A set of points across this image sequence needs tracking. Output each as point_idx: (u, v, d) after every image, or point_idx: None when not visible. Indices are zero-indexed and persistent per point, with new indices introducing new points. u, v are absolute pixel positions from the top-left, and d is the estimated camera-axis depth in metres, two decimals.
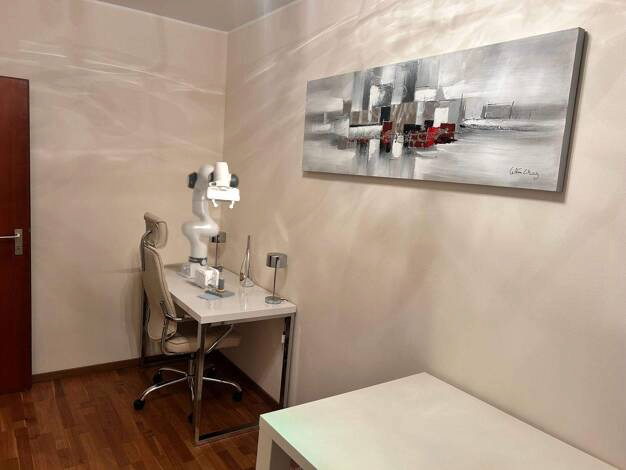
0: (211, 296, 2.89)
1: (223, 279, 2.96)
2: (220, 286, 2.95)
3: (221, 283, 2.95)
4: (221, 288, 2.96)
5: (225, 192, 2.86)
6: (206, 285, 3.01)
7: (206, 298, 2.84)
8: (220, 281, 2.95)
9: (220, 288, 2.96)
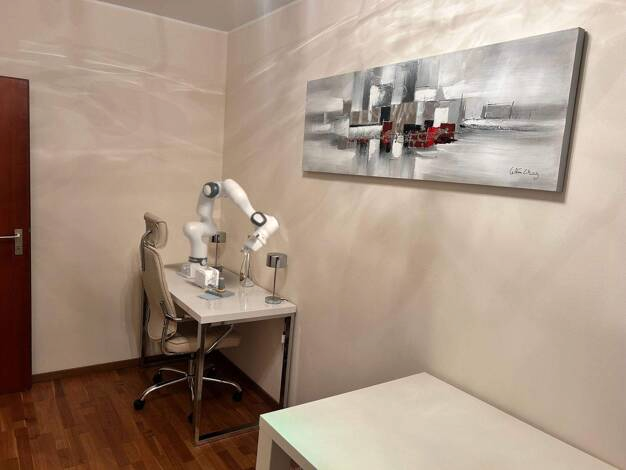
0: (211, 296, 2.89)
1: (223, 279, 2.96)
2: (220, 286, 2.95)
3: (221, 283, 2.95)
4: (221, 288, 2.96)
5: None
6: (206, 285, 3.01)
7: (206, 298, 2.84)
8: (220, 281, 2.95)
9: (220, 288, 2.96)
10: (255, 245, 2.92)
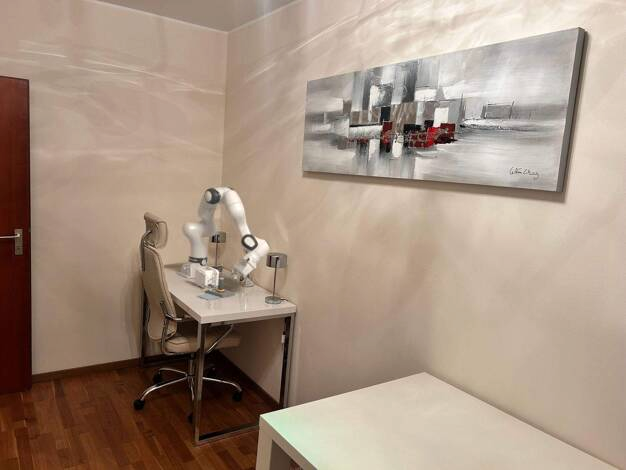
0: (211, 296, 2.89)
1: (223, 279, 2.96)
2: (220, 286, 2.95)
3: (221, 283, 2.95)
4: (221, 288, 2.96)
5: None
6: (206, 285, 3.01)
7: (206, 298, 2.84)
8: (220, 281, 2.95)
9: (220, 288, 2.96)
10: (245, 269, 2.92)
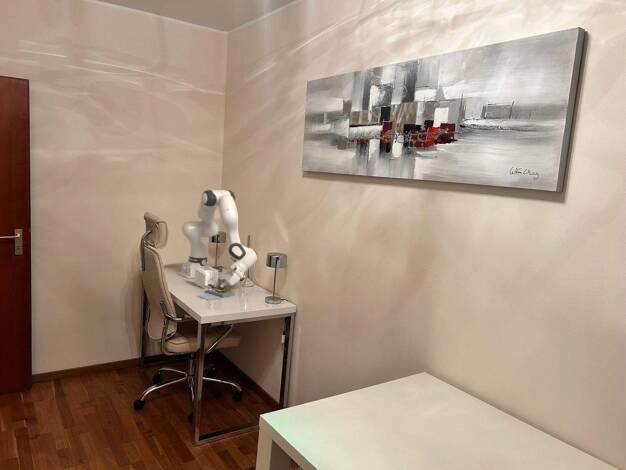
0: (211, 296, 2.89)
1: (223, 279, 2.96)
2: (220, 286, 2.95)
3: (221, 283, 2.95)
4: (221, 288, 2.96)
5: None
6: (206, 285, 3.01)
7: (206, 298, 2.84)
8: (220, 281, 2.95)
9: (220, 288, 2.96)
10: (232, 279, 2.89)
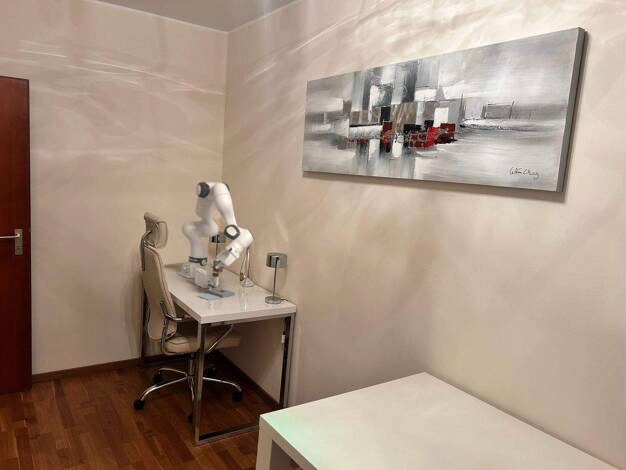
0: (211, 296, 2.89)
1: (218, 260, 2.89)
2: None
3: (216, 264, 2.88)
4: (216, 270, 2.89)
5: None
6: (206, 285, 3.01)
7: (206, 298, 2.84)
8: (215, 262, 2.88)
9: (215, 269, 2.89)
10: (228, 259, 2.82)
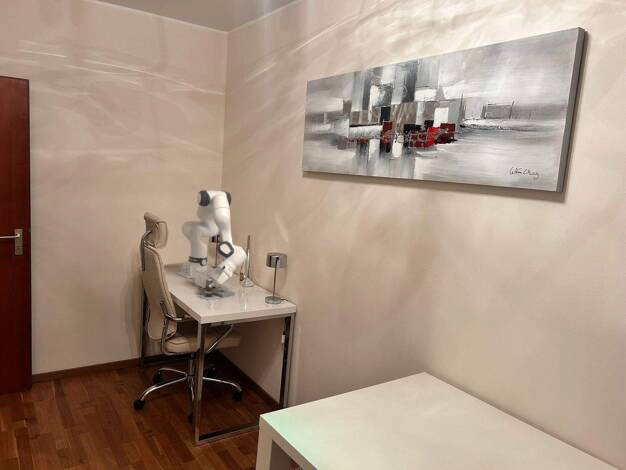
0: None
1: (211, 280, 2.87)
2: (208, 288, 2.87)
3: None
4: (209, 290, 2.87)
5: None
6: None
7: (206, 298, 2.84)
8: (208, 282, 2.86)
9: (208, 290, 2.87)
10: (220, 278, 2.80)
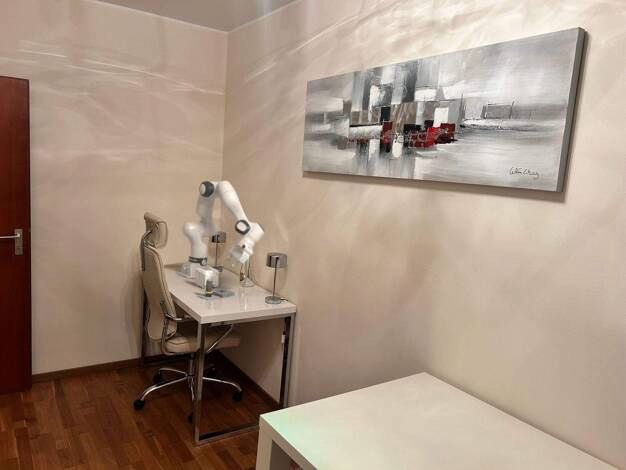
0: None
1: (211, 280, 2.87)
2: (208, 288, 2.86)
3: (209, 285, 2.86)
4: (209, 290, 2.87)
5: None
6: None
7: (206, 298, 2.84)
8: (208, 283, 2.86)
9: (208, 290, 2.87)
10: (242, 257, 2.88)
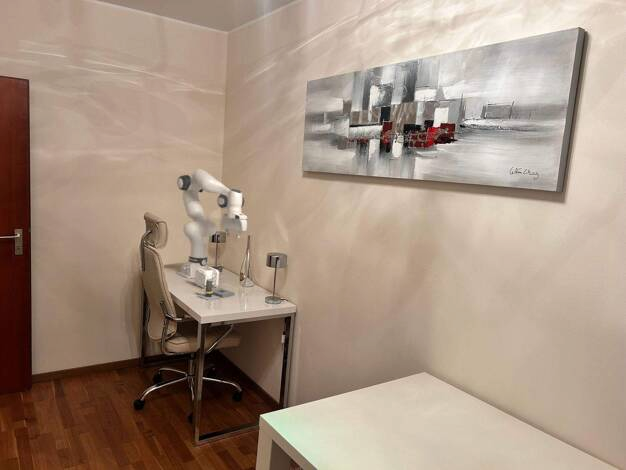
0: None
1: (211, 281, 2.87)
2: (208, 288, 2.86)
3: (209, 285, 2.86)
4: (209, 290, 2.87)
5: None
6: None
7: (206, 298, 2.84)
8: (208, 283, 2.86)
9: (208, 290, 2.87)
10: (243, 226, 3.01)
